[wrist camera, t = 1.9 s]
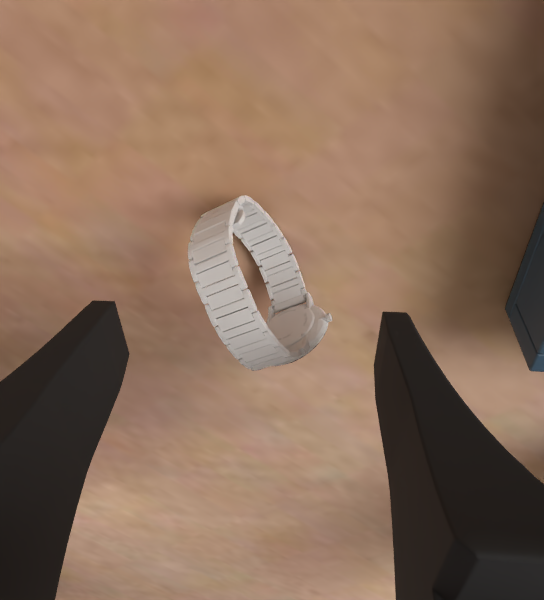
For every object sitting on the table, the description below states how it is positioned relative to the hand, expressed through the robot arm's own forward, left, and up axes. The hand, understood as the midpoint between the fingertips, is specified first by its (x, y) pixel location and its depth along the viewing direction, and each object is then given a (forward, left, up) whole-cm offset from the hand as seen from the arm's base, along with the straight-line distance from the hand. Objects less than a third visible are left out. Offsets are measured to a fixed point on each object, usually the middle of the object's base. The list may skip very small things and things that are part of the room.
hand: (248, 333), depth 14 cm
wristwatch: (0, 0, -5) cm, 5 cm away
